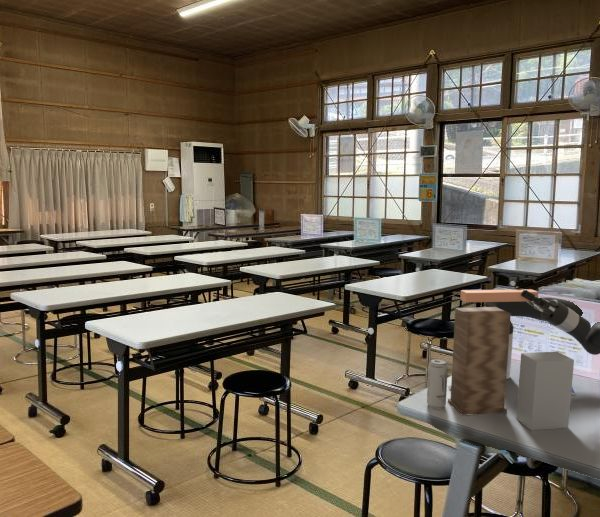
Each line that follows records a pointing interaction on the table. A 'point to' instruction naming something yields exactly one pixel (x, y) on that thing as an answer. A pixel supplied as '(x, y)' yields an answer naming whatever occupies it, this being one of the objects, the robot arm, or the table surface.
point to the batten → (494, 295)
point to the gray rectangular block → (545, 390)
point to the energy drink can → (437, 384)
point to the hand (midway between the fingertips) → (519, 290)
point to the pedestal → (480, 360)
